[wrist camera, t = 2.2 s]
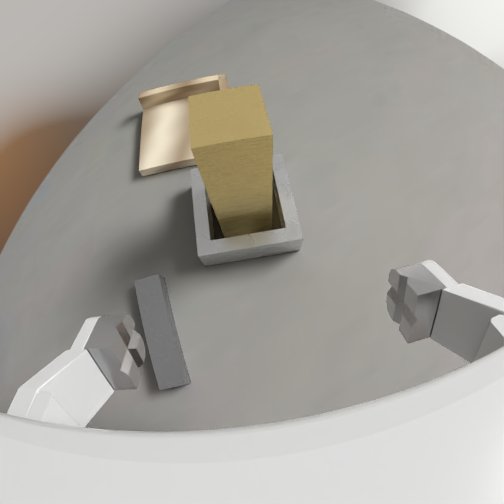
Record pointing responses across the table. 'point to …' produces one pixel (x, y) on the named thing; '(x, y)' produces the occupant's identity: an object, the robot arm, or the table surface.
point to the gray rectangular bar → (161, 332)
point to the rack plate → (170, 124)
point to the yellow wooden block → (234, 156)
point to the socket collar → (249, 243)
